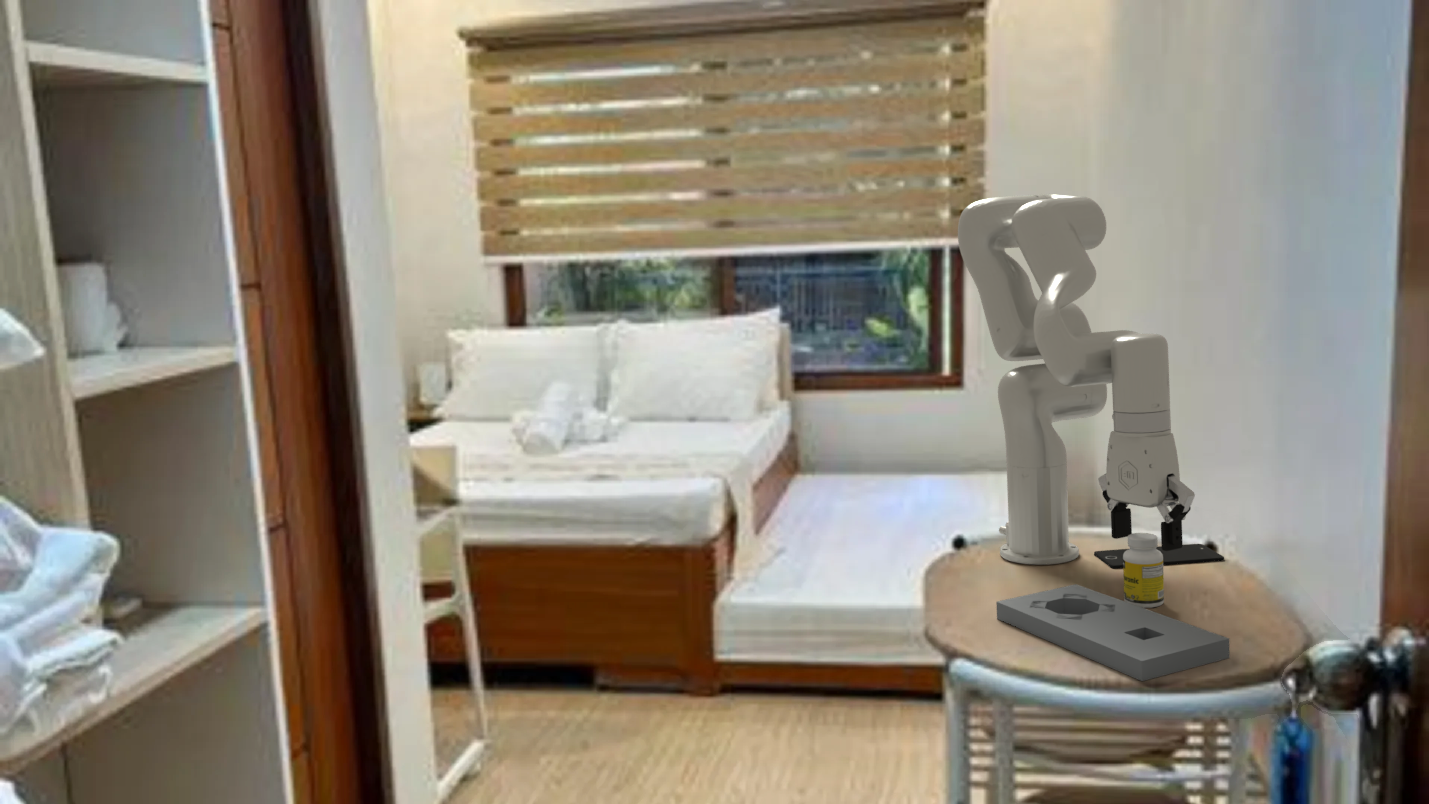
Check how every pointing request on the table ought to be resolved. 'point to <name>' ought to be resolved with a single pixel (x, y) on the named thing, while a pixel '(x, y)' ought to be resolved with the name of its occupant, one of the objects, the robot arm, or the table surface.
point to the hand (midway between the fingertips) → (1146, 543)
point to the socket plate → (1113, 631)
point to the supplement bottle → (1143, 571)
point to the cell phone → (1165, 555)
